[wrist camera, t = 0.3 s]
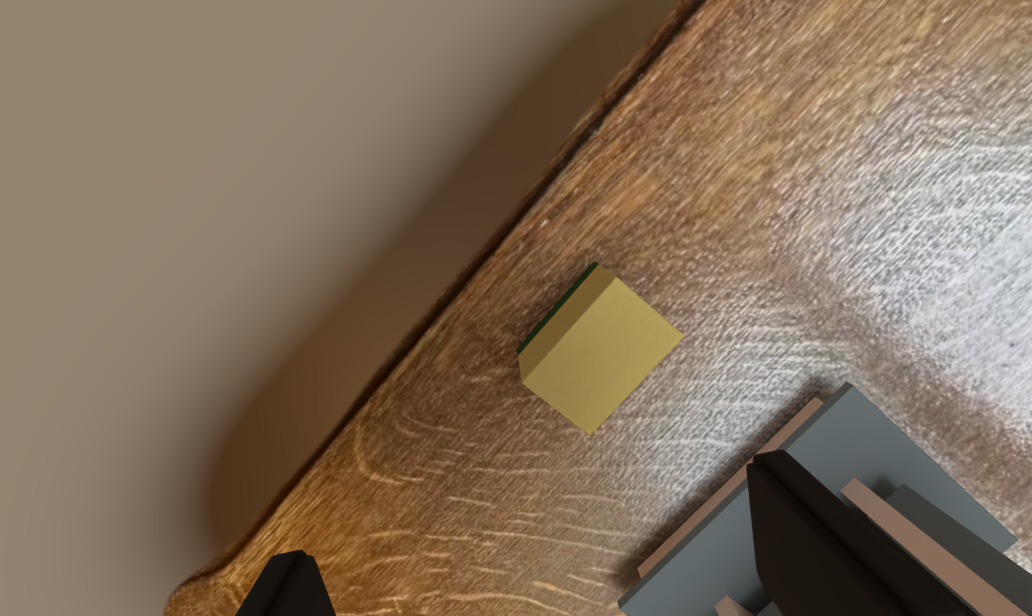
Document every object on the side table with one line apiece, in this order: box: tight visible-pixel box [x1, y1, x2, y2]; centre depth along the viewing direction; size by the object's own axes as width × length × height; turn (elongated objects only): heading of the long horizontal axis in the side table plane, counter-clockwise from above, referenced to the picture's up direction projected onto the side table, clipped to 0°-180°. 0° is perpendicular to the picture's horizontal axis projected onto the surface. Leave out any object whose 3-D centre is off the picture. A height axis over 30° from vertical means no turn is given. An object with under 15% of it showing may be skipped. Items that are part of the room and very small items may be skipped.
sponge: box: [517, 262, 684, 436], centre depth 22 cm, size 6×4×4 cm, turn 140°
